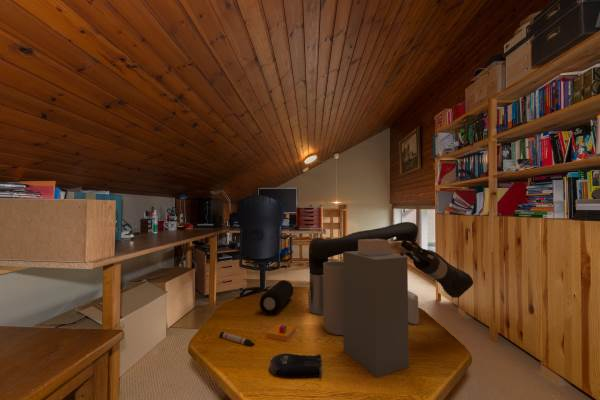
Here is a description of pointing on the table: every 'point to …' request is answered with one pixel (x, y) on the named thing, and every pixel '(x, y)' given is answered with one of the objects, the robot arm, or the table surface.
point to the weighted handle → (380, 247)
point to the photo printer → (413, 308)
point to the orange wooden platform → (281, 332)
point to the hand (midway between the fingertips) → (398, 242)
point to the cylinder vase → (333, 297)
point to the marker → (236, 339)
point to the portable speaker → (276, 297)
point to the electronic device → (296, 365)
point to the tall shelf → (376, 311)
